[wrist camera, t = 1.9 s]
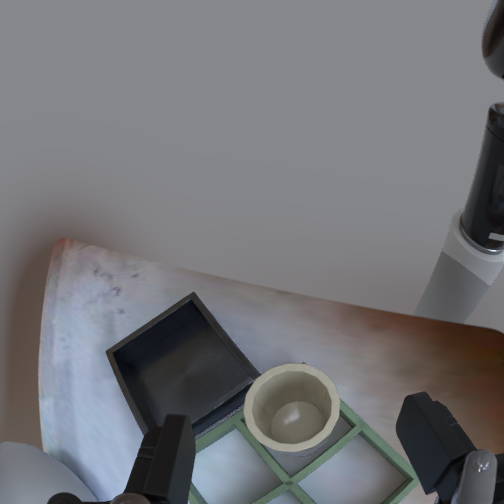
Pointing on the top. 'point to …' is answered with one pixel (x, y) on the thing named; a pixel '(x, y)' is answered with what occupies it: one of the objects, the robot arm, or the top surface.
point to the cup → (292, 409)
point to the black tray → (181, 368)
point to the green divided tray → (291, 482)
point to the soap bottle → (35, 476)
